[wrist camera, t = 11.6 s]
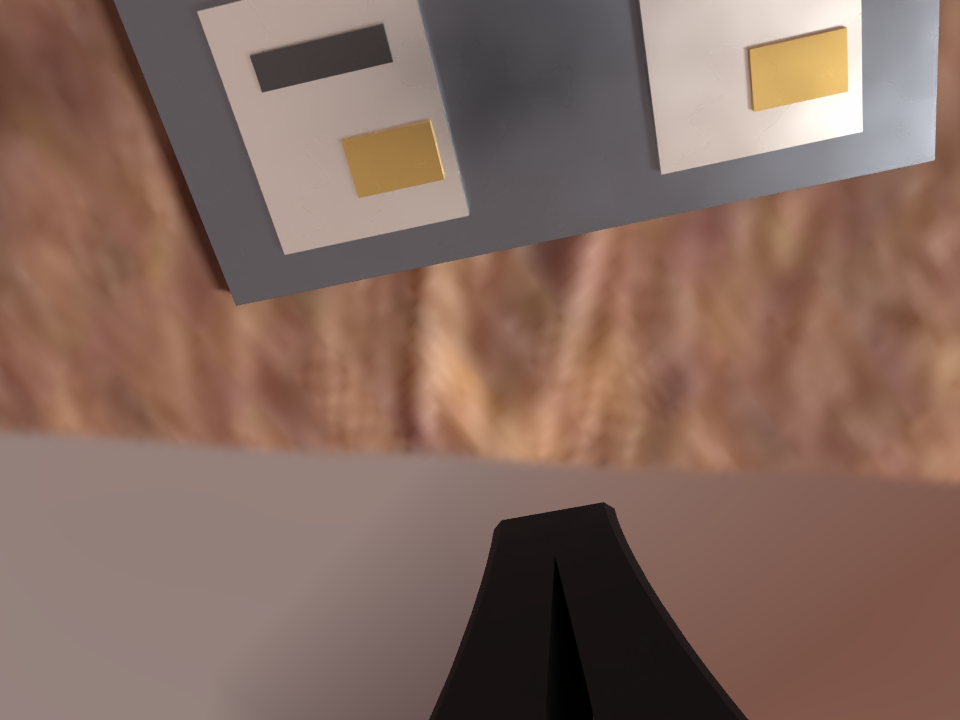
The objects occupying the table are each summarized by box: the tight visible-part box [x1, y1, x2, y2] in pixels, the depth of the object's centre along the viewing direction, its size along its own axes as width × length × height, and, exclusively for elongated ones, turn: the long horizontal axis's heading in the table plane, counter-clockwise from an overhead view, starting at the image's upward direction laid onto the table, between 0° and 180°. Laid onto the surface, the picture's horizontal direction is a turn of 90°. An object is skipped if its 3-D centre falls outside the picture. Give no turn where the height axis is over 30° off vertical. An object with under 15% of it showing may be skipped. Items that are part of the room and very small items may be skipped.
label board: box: [114, 0, 939, 306], centre depth 18 cm, size 15×7×1 cm, turn 103°
